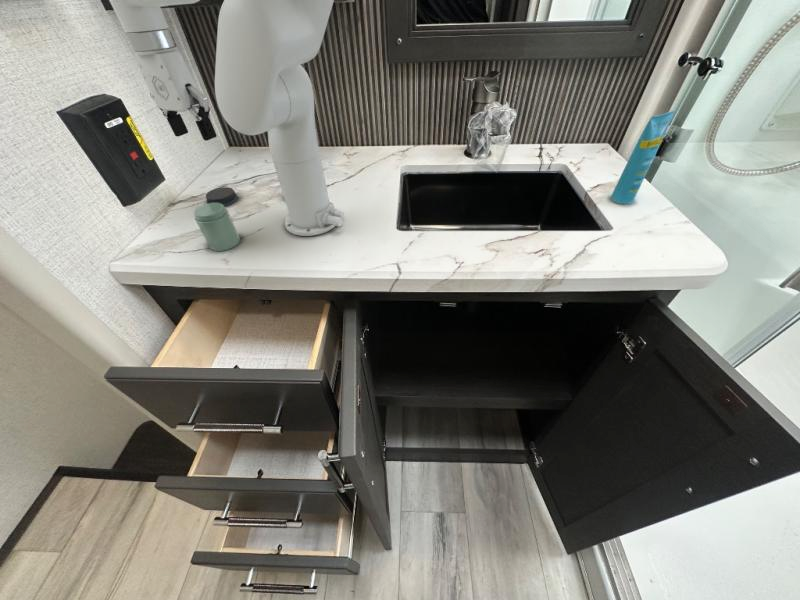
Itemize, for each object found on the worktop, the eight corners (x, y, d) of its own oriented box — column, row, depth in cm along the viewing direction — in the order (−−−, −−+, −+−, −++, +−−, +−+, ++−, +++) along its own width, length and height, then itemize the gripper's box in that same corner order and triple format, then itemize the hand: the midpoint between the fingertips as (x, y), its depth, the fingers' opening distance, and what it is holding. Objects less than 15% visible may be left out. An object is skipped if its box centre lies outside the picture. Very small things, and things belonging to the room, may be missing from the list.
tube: (622, 208, 78) (665, 119, 64) (603, 200, 81) (641, 113, 67) (639, 199, 80) (685, 111, 67) (620, 191, 83) (660, 106, 70)
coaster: (244, 197, 88) (243, 194, 88) (221, 210, 83) (220, 208, 83) (223, 191, 91) (223, 189, 90) (201, 204, 86) (200, 202, 86)
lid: (234, 190, 90) (232, 184, 89) (237, 200, 86) (235, 195, 84) (207, 196, 88) (204, 190, 87) (208, 207, 83) (206, 202, 82)
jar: (246, 237, 74) (232, 203, 68) (226, 253, 70) (209, 219, 64) (223, 232, 76) (208, 199, 70) (203, 248, 72) (184, 214, 66)
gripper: (108, 46, 65) (157, 138, 76) (164, 45, 58) (208, 146, 70) (144, 40, 69) (185, 128, 81) (199, 39, 63) (235, 134, 75)
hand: (196, 136), depth 76 cm, fingers open, 9 cm apart
